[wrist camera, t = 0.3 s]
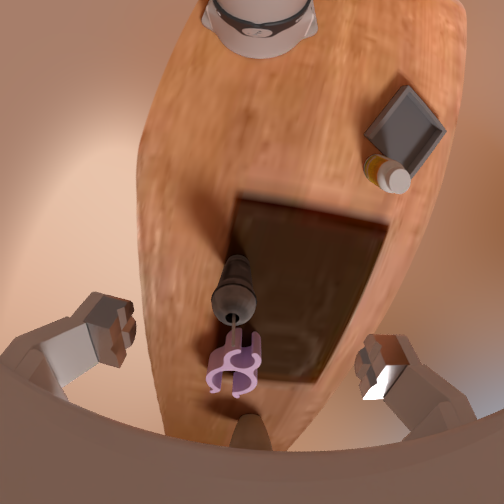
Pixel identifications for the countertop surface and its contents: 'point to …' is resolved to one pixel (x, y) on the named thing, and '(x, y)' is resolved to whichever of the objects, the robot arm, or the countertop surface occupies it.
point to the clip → (235, 364)
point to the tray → (406, 130)
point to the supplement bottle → (387, 174)
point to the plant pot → (250, 434)
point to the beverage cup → (234, 294)
